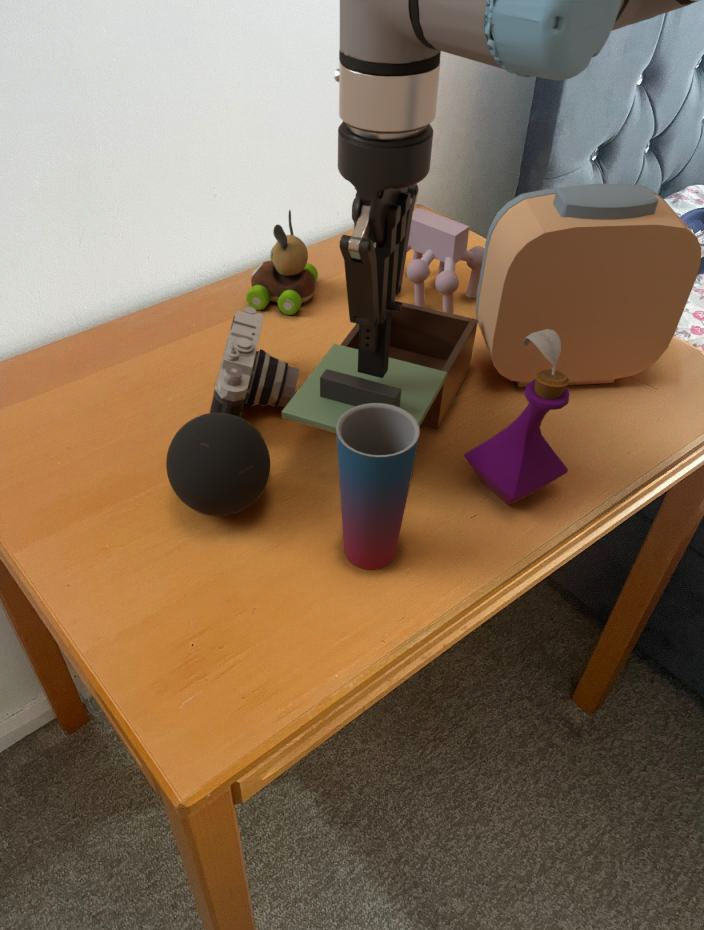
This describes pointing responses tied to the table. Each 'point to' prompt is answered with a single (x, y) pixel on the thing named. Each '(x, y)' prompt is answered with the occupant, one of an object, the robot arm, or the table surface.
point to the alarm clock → (585, 281)
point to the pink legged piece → (441, 255)
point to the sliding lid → (361, 389)
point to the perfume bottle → (526, 434)
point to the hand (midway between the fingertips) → (372, 370)
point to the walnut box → (430, 348)
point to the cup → (374, 479)
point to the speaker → (218, 464)
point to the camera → (250, 370)
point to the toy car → (283, 275)
